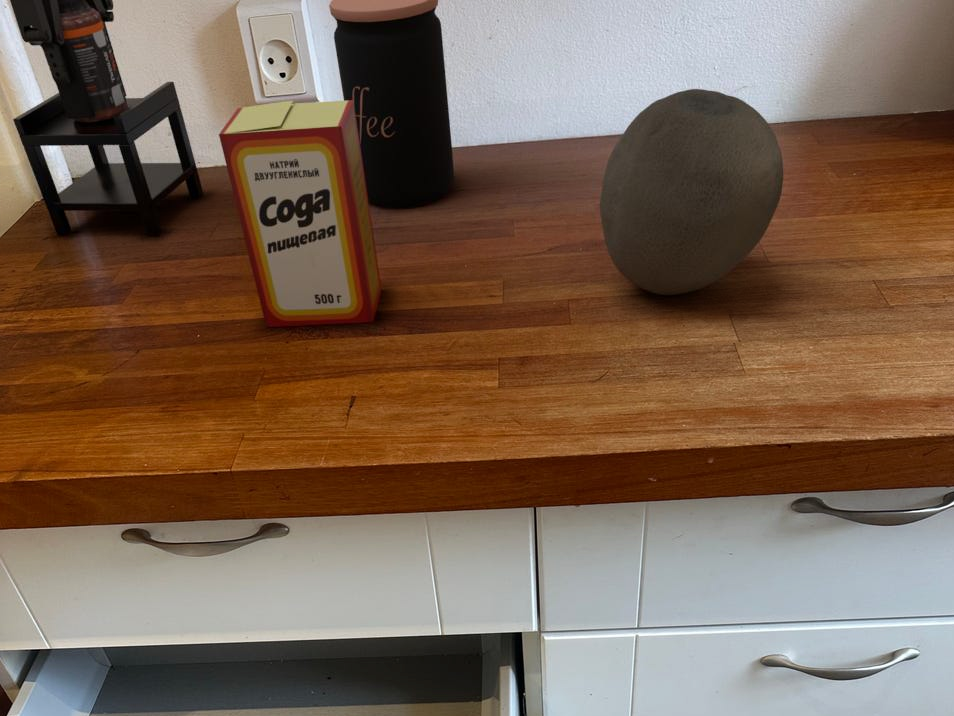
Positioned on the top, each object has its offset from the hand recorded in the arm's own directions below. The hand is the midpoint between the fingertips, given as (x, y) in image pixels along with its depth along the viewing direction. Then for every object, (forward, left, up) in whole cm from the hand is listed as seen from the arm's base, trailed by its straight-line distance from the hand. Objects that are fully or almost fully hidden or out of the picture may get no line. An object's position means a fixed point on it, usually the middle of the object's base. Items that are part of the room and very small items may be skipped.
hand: (97, 106), depth 98 cm
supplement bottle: (0, 0, -1) cm, 1 cm away
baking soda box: (+30, -21, -11) cm, 38 cm away
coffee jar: (+30, +7, -11) cm, 33 cm away
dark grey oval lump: (+61, -15, -11) cm, 64 cm away
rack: (0, 0, -11) cm, 11 cm away
